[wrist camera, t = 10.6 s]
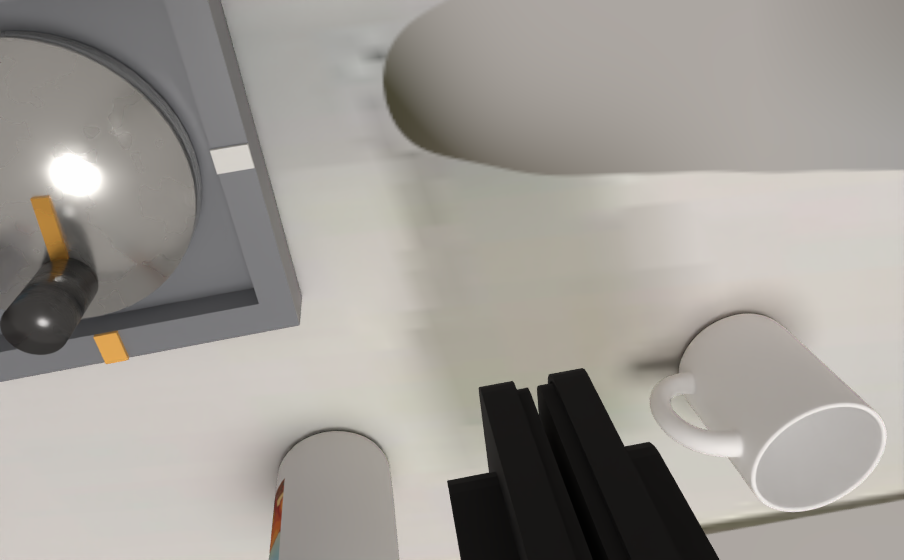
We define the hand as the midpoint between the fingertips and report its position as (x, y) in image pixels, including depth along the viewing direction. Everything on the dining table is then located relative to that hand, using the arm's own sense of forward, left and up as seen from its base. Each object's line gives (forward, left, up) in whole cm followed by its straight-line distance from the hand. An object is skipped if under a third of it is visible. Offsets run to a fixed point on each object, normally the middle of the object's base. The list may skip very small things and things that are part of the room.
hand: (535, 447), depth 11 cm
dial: (+2, -18, -27) cm, 32 cm away
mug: (+23, +18, -29) cm, 41 cm away
